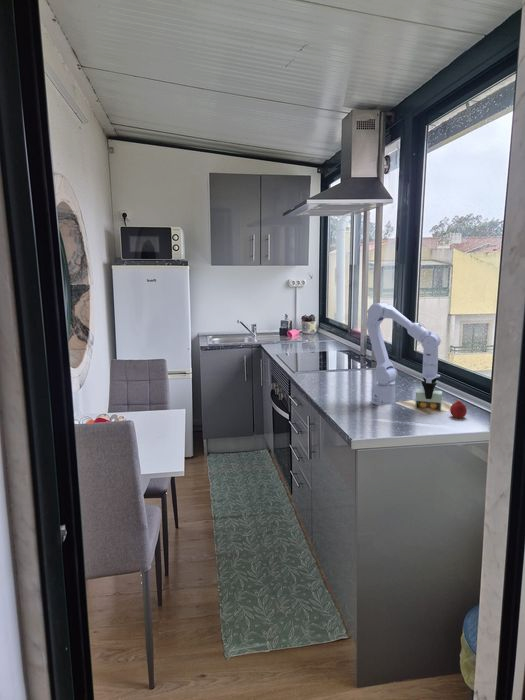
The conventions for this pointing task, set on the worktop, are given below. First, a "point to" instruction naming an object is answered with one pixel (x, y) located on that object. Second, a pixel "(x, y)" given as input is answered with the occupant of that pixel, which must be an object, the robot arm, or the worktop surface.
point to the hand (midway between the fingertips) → (429, 396)
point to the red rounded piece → (458, 409)
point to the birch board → (425, 410)
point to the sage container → (435, 398)
